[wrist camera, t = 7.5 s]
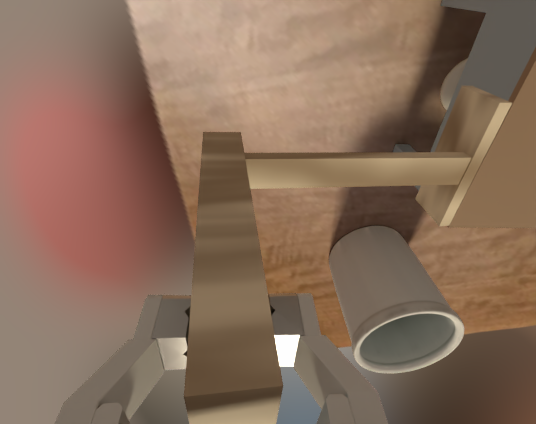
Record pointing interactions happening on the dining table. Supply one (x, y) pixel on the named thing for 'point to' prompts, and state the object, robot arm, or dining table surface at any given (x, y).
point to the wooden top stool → (514, 124)
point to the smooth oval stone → (451, 84)
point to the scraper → (249, 254)
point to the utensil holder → (391, 303)
